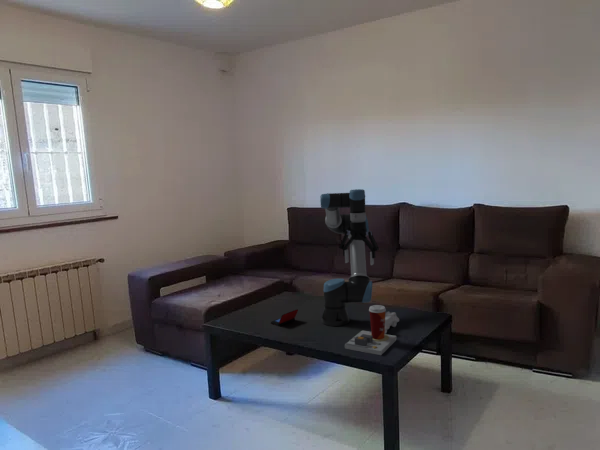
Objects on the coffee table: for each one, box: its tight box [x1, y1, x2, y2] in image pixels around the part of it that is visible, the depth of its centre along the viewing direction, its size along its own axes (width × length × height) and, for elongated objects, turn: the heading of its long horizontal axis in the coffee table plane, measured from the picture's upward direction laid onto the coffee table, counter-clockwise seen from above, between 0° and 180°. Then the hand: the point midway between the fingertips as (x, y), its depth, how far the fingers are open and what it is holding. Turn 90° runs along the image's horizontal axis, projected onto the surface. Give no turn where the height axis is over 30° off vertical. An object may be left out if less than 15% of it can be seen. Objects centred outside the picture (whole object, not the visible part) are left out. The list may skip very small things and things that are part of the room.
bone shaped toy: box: [385, 310, 400, 334], centre depth 235 cm, size 15×9×8 cm, turn 144°
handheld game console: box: [270, 308, 299, 327], centre depth 253 cm, size 12×11×7 cm
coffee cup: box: [368, 304, 387, 339], centre depth 219 cm, size 8×8×15 cm
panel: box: [344, 330, 397, 356], centre depth 217 cm, size 18×20×5 cm
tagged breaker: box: [355, 336, 367, 346], centre depth 212 cm, size 5×3×3 cm, turn 58°
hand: (359, 263), depth 225 cm, fingers open, 13 cm apart
